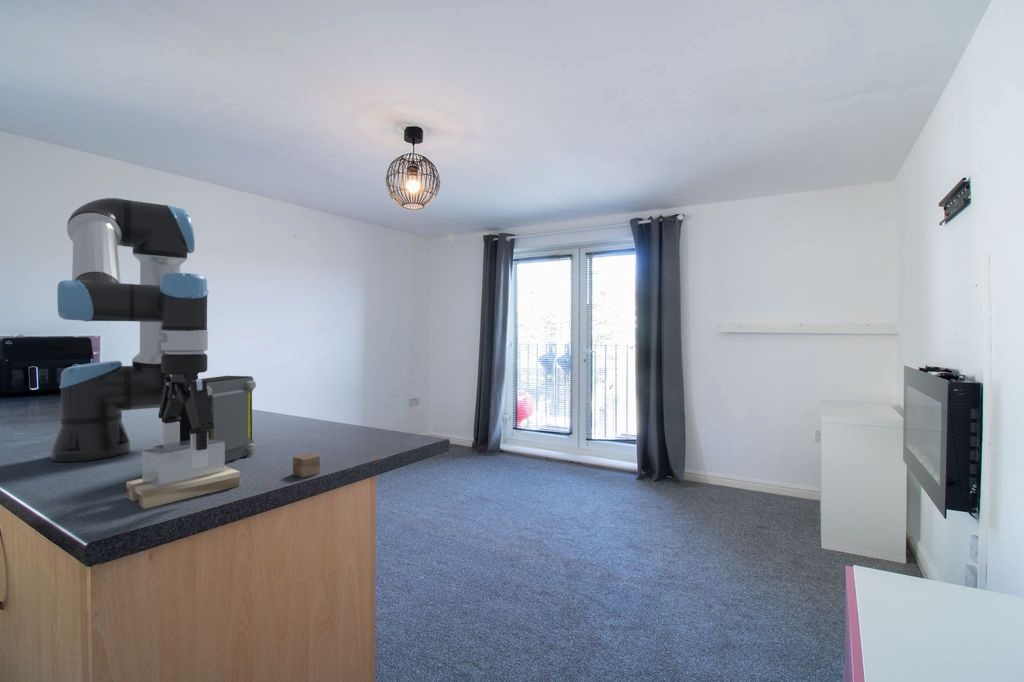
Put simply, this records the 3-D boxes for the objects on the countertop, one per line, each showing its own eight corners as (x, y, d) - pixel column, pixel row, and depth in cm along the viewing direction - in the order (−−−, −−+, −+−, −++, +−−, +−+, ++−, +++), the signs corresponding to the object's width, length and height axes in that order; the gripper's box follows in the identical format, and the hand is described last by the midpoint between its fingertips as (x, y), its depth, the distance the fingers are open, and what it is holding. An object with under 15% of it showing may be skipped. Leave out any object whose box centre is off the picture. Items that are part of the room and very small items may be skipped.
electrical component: (202, 473, 106) (202, 383, 106) (164, 470, 108) (163, 382, 108) (259, 453, 124) (259, 376, 123) (225, 451, 126) (225, 375, 125)
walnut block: (292, 474, 106) (292, 456, 106) (309, 470, 110) (309, 453, 110) (302, 478, 104) (302, 459, 104) (319, 473, 107) (319, 455, 107)
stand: (126, 497, 91) (126, 481, 91) (218, 477, 104) (218, 463, 104) (145, 509, 85) (145, 492, 85) (239, 486, 98) (239, 471, 98)
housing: (207, 466, 101) (207, 435, 101) (224, 470, 98) (224, 438, 98) (142, 482, 90) (141, 447, 90) (159, 487, 88) (158, 451, 87)
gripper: (139, 350, 98) (139, 453, 99) (188, 356, 83) (189, 477, 84) (181, 349, 104) (181, 446, 105) (234, 354, 89) (234, 467, 90)
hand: (184, 460), depth 94 cm, fingers open, 13 cm apart
